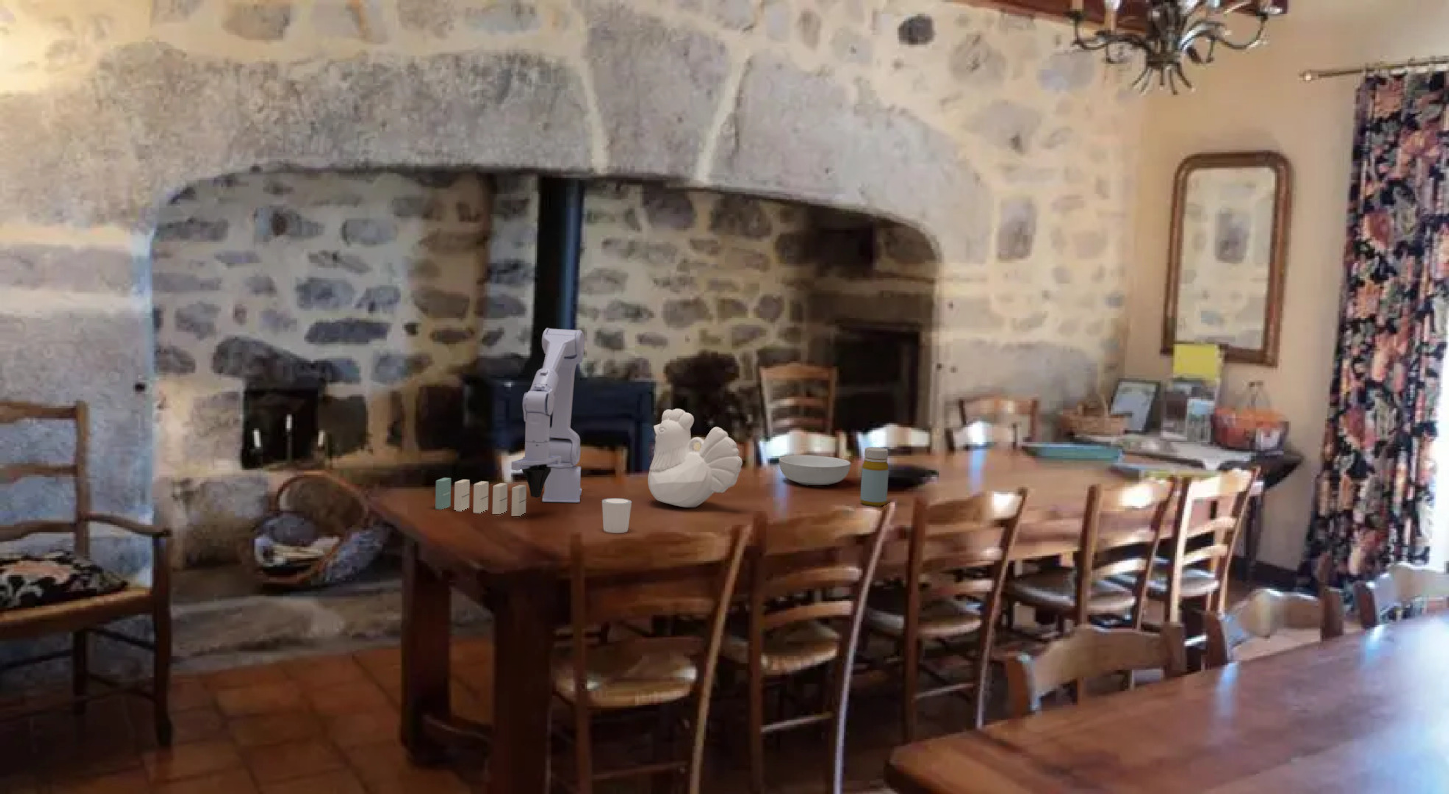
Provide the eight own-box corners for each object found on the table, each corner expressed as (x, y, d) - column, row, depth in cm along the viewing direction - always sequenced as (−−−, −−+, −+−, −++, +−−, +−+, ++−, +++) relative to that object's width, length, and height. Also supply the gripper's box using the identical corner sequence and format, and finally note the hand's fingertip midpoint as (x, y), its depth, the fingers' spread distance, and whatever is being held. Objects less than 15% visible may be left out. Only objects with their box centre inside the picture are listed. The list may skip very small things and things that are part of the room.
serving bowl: (861, 483, 350) (862, 460, 350) (828, 493, 333) (829, 469, 332) (799, 474, 361) (800, 451, 361) (764, 483, 344) (765, 459, 343)
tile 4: (507, 511, 291) (507, 483, 290) (499, 515, 287) (500, 486, 286) (500, 511, 292) (500, 482, 291) (492, 514, 287) (493, 486, 286)
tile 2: (469, 508, 293) (469, 480, 293) (461, 511, 289) (461, 483, 288) (462, 507, 294) (462, 479, 293) (454, 510, 290) (454, 482, 289)
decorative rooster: (634, 503, 307) (637, 408, 304) (672, 495, 320) (676, 403, 317) (711, 520, 292) (715, 419, 289) (748, 510, 305) (753, 414, 302)
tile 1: (450, 506, 294) (451, 478, 294) (442, 509, 290) (443, 481, 289) (443, 505, 295) (444, 477, 294) (435, 508, 291) (435, 480, 290)
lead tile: (525, 513, 290) (526, 485, 289) (518, 517, 286) (519, 488, 285) (518, 512, 290) (519, 484, 290) (511, 516, 286) (512, 487, 285)
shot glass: (601, 526, 280) (602, 497, 279) (630, 527, 281) (631, 498, 280) (600, 533, 273) (601, 503, 272) (630, 534, 274) (631, 504, 273)
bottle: (888, 503, 323) (892, 448, 321) (883, 507, 316) (886, 452, 315) (863, 500, 325) (866, 446, 324) (857, 504, 319) (860, 449, 317)
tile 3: (488, 509, 292) (488, 481, 291) (480, 513, 288) (481, 485, 287) (481, 509, 293) (481, 481, 292) (473, 512, 288) (473, 484, 288)
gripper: (547, 435, 293) (545, 490, 295) (503, 441, 282) (501, 497, 283) (567, 439, 289) (566, 494, 290) (523, 445, 277) (522, 502, 279)
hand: (535, 496), depth 287 cm, fingers closed
